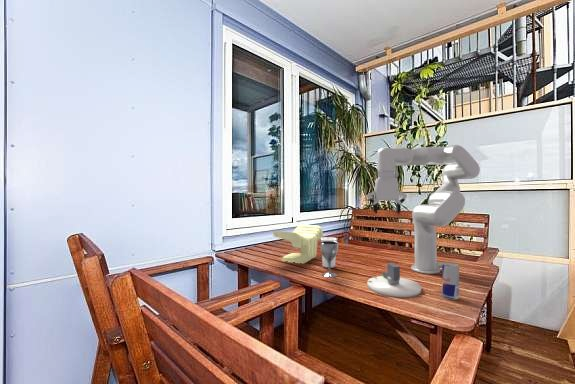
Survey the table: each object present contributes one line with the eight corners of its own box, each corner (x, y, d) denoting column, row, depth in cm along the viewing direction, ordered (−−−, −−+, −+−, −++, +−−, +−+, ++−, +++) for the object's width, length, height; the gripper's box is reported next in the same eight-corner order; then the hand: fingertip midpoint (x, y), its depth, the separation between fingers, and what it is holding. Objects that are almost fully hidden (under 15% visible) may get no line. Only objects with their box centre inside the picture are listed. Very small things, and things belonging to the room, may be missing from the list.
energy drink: (438, 294, 104) (438, 262, 103) (452, 294, 104) (452, 262, 104) (448, 300, 98) (448, 266, 98) (462, 299, 99) (462, 266, 99)
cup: (340, 267, 141) (340, 238, 141) (328, 269, 137) (328, 240, 137) (329, 263, 148) (329, 236, 148) (317, 266, 143) (317, 238, 143)
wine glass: (334, 278, 123) (333, 244, 123) (317, 275, 127) (317, 243, 127) (340, 274, 130) (340, 241, 130) (325, 271, 134) (324, 240, 134)
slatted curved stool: (300, 268, 139) (300, 233, 139) (273, 264, 147) (273, 230, 147) (322, 255, 166) (322, 225, 166) (298, 252, 173) (298, 224, 173)
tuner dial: (411, 280, 120) (411, 276, 120) (429, 298, 100) (429, 293, 100) (364, 278, 123) (364, 274, 123) (371, 296, 103) (371, 291, 103)
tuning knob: (402, 284, 109) (402, 266, 108) (391, 285, 108) (391, 267, 108) (388, 274, 121) (388, 258, 121) (378, 275, 121) (378, 259, 121)
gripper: (404, 175, 129) (404, 212, 129) (365, 176, 131) (365, 212, 132) (408, 174, 122) (409, 214, 122) (368, 175, 124) (368, 214, 124)
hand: (386, 213), depth 127 cm, fingers open, 9 cm apart
